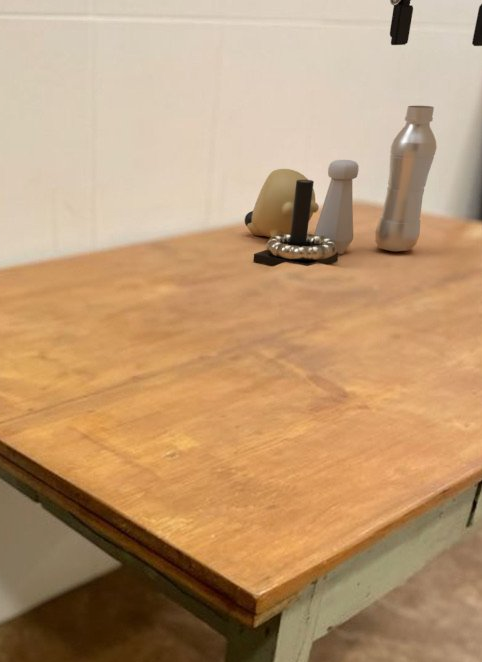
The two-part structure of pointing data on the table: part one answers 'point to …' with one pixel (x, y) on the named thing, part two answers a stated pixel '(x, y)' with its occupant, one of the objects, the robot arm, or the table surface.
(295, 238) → the stand
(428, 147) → the silver metal bottle
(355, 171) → the salt shaker
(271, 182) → the toy pig
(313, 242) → the beaded metal ring
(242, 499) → the table surface
